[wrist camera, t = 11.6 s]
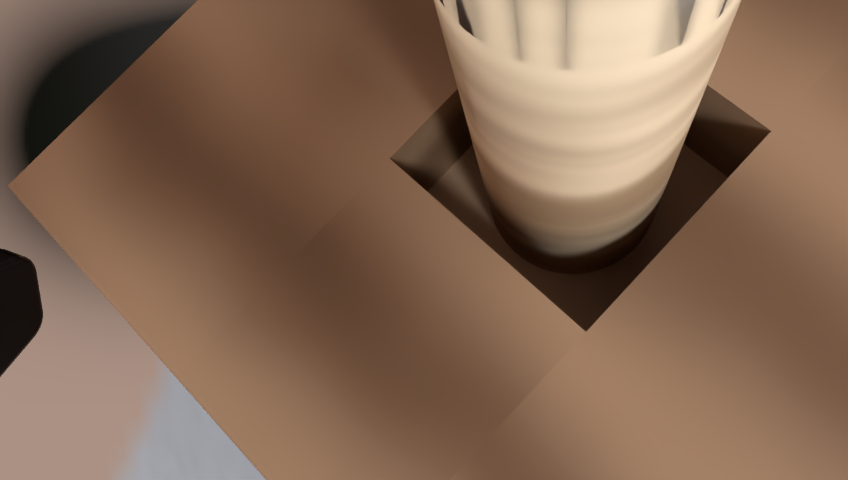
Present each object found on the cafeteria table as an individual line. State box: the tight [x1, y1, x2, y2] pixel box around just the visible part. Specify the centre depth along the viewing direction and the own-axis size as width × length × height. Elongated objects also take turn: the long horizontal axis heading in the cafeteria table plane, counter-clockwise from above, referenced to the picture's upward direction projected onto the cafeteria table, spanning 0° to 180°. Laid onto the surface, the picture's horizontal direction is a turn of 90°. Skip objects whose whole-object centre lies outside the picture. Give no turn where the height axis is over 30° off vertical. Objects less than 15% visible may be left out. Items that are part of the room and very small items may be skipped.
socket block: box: [8, 0, 848, 480], centre depth 20 cm, size 20×20×4 cm
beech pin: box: [434, 0, 741, 274], centre depth 15 cm, size 4×4×13 cm
